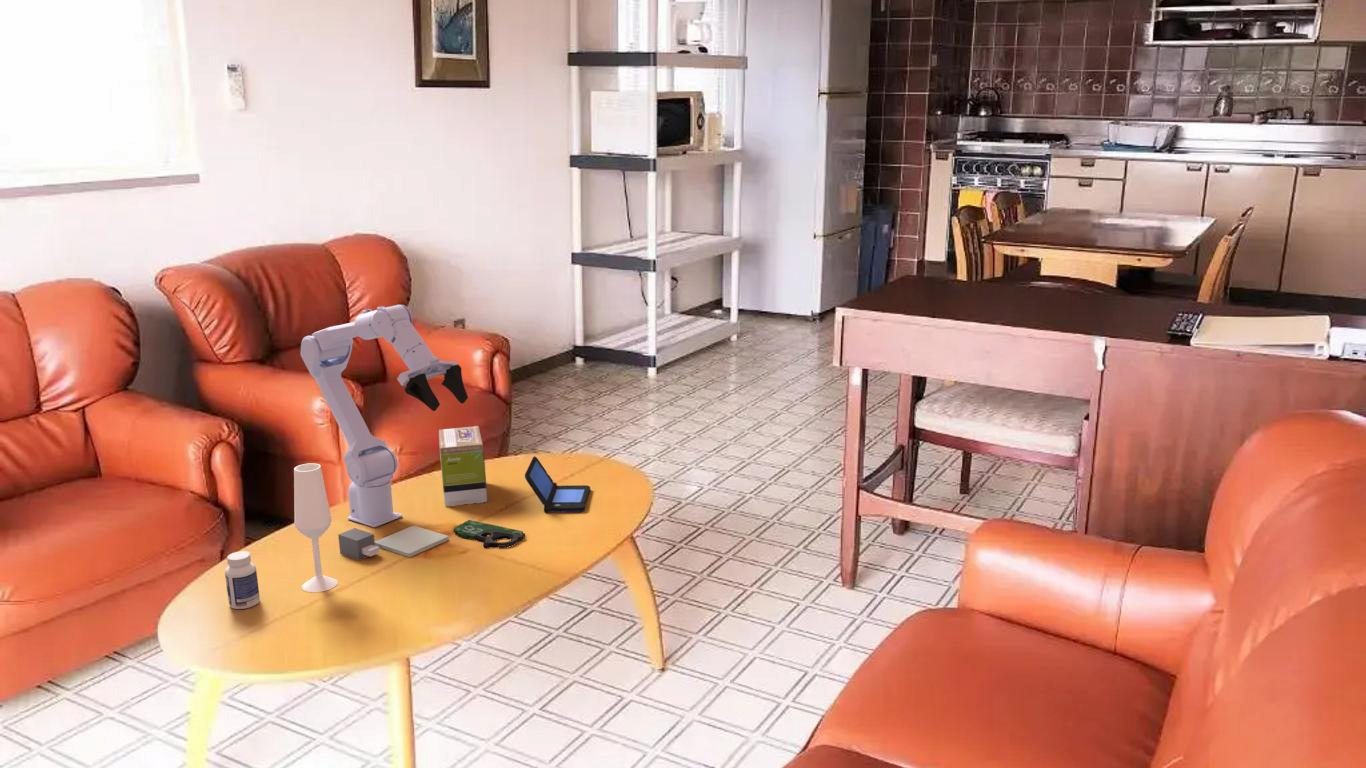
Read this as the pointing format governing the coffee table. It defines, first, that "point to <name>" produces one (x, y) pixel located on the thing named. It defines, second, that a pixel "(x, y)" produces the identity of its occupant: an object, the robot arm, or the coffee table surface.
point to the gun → (488, 534)
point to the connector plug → (357, 544)
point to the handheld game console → (555, 491)
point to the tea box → (462, 466)
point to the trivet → (411, 541)
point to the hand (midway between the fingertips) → (450, 404)
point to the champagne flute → (312, 518)
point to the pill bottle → (241, 581)
